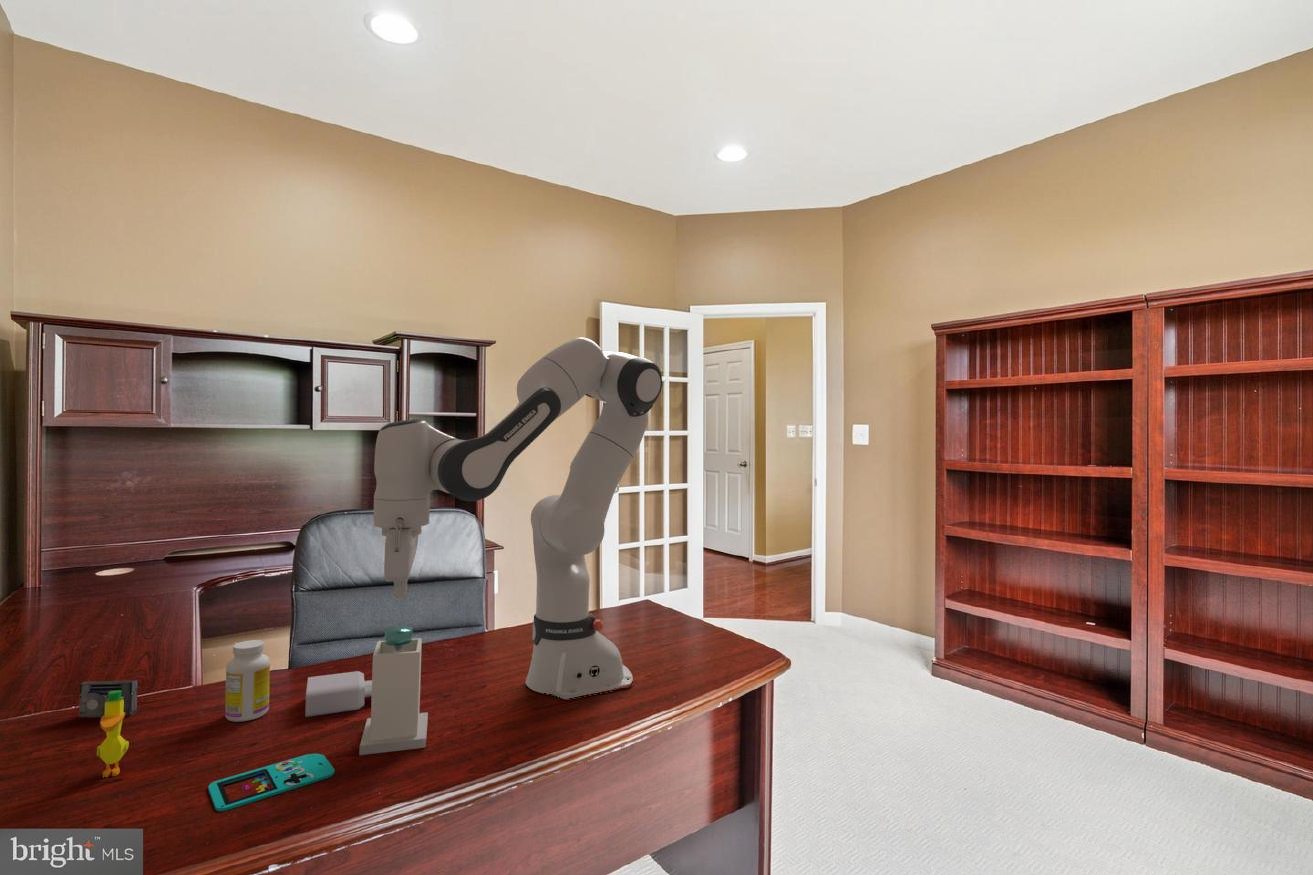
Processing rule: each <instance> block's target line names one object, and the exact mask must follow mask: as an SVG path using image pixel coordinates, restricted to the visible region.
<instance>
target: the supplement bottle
mask: <svg viewBox="0 0 1313 875" xmlns="http://www.w3.org/2000/svg"><path fill="white" fill-rule="evenodd" d="M232 648H233V649H232V654H233V655H234V657H233V658H231V659H230V660H229V661H228V662H227V664H226V667H225V698H224V699H225V701H224V702H225V703H224V705H225V707H224V708H225V709H224V712H225V713H224V716H225V718H226V719H227V720H228V721H231V722H232V723H233V722H235V723H236V722H237V723H238V722H239V723H240V722H246V721H251V720H252V721H253V720H255V719H258V718H260V717H262V716H265V714H266V713H268V711H269V707H270V679H271V678H270V677H271V676H270V675H271V674H270V671H271V664H270V663H271V662H270V657H269V655H266V654H265V653H263V652H264V649H265V642H264V641H263V640H259V639H253V640H252V639H251V640H245V641H241V642H237V643H235V644H234V645H233V646H232Z"/></svg>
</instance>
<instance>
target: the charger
mask: <svg viewBox="0 0 1313 875" xmlns="http://www.w3.org/2000/svg"><path fill="white" fill-rule="evenodd" d="M306 683H307V685H306V692H305V713H304V714H305V716H304V717H305V718H309V717H311V718H312V717H316V716H324V715H331V714H337V713H338V714H339V713H344V712H351V711H356V710H360V709H361V708H363V707H364V706H365V699H366V698H368V697H372V679H371V680H365V673H363V672H361V671H358V670H356V671H351V672H350V671H349V672H342V673H341V672H340V673H333V674H326V675H318V676H317V675H316V676H310V677H309V676H308V677H307V682H306Z"/></svg>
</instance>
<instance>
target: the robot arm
mask: <svg viewBox="0 0 1313 875" xmlns="http://www.w3.org/2000/svg"><path fill="white" fill-rule="evenodd" d="M662 387H663V375H662V372H661V369H660V367H659V366H658V365H657V363H654V362H653V361H651V360H650V359H648V358H645V357H642V356H635V355H633V354H629V353H626V352H621V351H616V352H615V351H605V350H602V349H601V347H600V346H599V345H598V344H597V343H596V342H595V341H593V340H591V339H589V338H587V337H575V338H573V339H571V340H569V341H567V342H565V343H563V344H561V345H559V346H558V347H556V348H554V349H553V350H551V351H550V352H548V353H547V354H545V355H544V356H543V357H541V358H540V359H539V360H537V361H536V362H534V364H532V365H531V366H530V367H529V368H528V369H527V370H526V371H525V372H524V373H523V375H522V376H521V377H520V378H519V379H518V381H517V385H516V396H517V400H518V403H517V405H516V406H515V407H514V409H513V410H512V411H511V412H509V413H508V414H507V415H506V416H504V417H503V419H501V420H500V421H499V422H498V423H497V424H495V426H493V427H492V428H491V429H490V430H489V431H488V432H487V433H485V434H483V435H481V436H478V437H475V438H471V439H465V440H464V439H460V438H459V439H458V438H456V437H454V436H452V435H449V434H447V433H444V432H442V431H440V430H438V429H436V428H435V427H433V426H432V425H430V424H429V423H428V422H427V421H425V420H424V419H421V418H420V419H419V418H418V419H417V418H416V419H415V418H414V419H405V420H404V419H403V420H398V421H393V422H389V423H386V424H385V425H383V426H382V427H381V428H380V429H379V431H378V434H377V437H376V442H375V449H374V463H373V464H374V466H373V470H374V471H373V472H374V477H375V479H376V486H375V492H374V494H373V526H374V527H377V528H379V529H380V528H381V536H383V537H385V542H384V562H383V563H384V566H383V576H384V580H385V581H386V582H393V586H394V592H393V593H394V597H395V598H397V599H398V598H405V597H406V595H407V592H408V580H409V579H410V575H411V571H412V568H413V564H414V560H415V557H416V553H417V549H418V541H419V536H420V535H421V534H422V527H424V526H428V525H429V524H430V509H431V508H430V503H431V501H430V499H431V497H430V495H431V492H433V491H435V490H439V491H442V492H444V493H447V494H450V495H452V496H453V497H454V498H456V499H458V500H460V501H465V502H477V501H482V500H484V499H485V498H488V497H490V495H491V494H493V493H494V492H495V491H496V490H497V489H498V488H499V486H500V484H501V483H502V481H503V479H504V476H505V475H506V473H507V471H508V469H509V467H510V466H511V465H512V464H513V462H514V461H515V459H516V458H518V457H519V456H520V454H522V453H523V451H525V450H526V448H528V447H529V446H531V444H532V443H533V442H534V441H535V440H536V439H537V438H538V437H539V436H540V435H541V434H542V433H543V432H544V431H545V430H547V429H548V427H549V426H550V425H551V424H553V422H555V421H556V420H557V419H558V418H559V417H560V416H562V415H563V414H565V413H566V412H567V411H569V410H570V409H571V408H573V406H575V405H576V404H577V403H578V402H580V401H581V400H582V398H584V396H586V397H589V398H591V399H596V400H598V401H601V402H602V406H601V413H600V414H599V417H598V418H597V419H596V422H594V424H593V425H592V427H591V429H590V430H589V432H588V434H587V436H586V437H585V439H584V441H583V442H582V444H581V445H580V447H579V449H578V451H577V452H576V454H575V455H574V457H573V459H572V461H571V462H570V466H569V474H568V476H567V479H566V482H565V486H564V487H563V490H562V493H561V494H553V495H550V496H546V497H544V498H542V499H540V500H539V501H538V502H536V503H535V505H534V506H533V508H532V510H531V513H530V524H531V528H532V529H531V530H532V540H533V553H534V563H535V571H536V596H535V597H536V601H535V603H536V604H535V606H536V607H535V614H534V615H533V621H532V642H533V650H532V656H531V661H530V665H529V669H528V673H527V675H526V676H527V677H526V679H525V685H526V686H527V687H528V688H529V689H530V690H532V691H533V692H537V693H539V694H544V693H546V694H545V695H549V694H553V695H552V696H554V695H555V696H554V697H556V696H557V698H559V697H560V698H559V699H561V698H562V699H563V700H570V699H569V698H573V697H578V696H582V695H586V694H591V693H598V692H601V691H606V690H611V689H614V688H619V687H623V686H627V685H630V684H631V683H632V681H633V682H634V678H633V674H632V671H630V669H629V668H628V667H627V666H625V665H624V664H623V660H622V655H621V653H620V650H619V649H618V647H617V646H616V645H615V643H613V642H612V641H611V640H609V639H608V638H606V636H604V635H603V634H602V633H600V631H602V629H603V628H604V623H603V621H602V620H601V619H600V618H598V617H597V616H595V615H593V614H592V613H591V612H589V607H590V603H589V602H590V582H591V581H590V580H591V579H590V574H589V571H588V568H587V563H586V559H585V558H586V557H585V555H588V554H591V553H592V552H594V551H595V550H597V548H598V547H599V546H600V545H601V543H602V541H603V539H604V537H605V522H606V518H607V515H608V511H609V509H610V505H611V503H612V500H613V497H614V494H615V491H616V490H617V487H618V486H619V484H620V481H621V480H622V478H623V476H624V475H625V473H626V471H627V469H628V468H629V465H630V464H631V462H632V460H633V459H634V456H635V455H636V453H637V451H638V449H639V446H640V444H641V442H642V440H643V437H644V435H645V432H646V430H647V426H648V423H649V416H648V414H647V413H648V412H649V411H650V410H651V409H652V408H653V406H654V404H656V402H657V400H658V398H659V396H660V394H661V391H662ZM627 679H629V680H627ZM578 698H579V697H578ZM562 699H561V700H562ZM573 699H574V698H573Z"/></svg>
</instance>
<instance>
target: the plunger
mask: <svg viewBox="0 0 1313 875" xmlns="http://www.w3.org/2000/svg"><path fill="white" fill-rule="evenodd" d="M413 630H414V629H413V627H412V626H409V625H395V626H391V627H388V628H385V629H384V641H385V644H386V645H391V646H393V653H396V652H403V645H405V644H408V643H410V642H412V639H413Z"/></svg>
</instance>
